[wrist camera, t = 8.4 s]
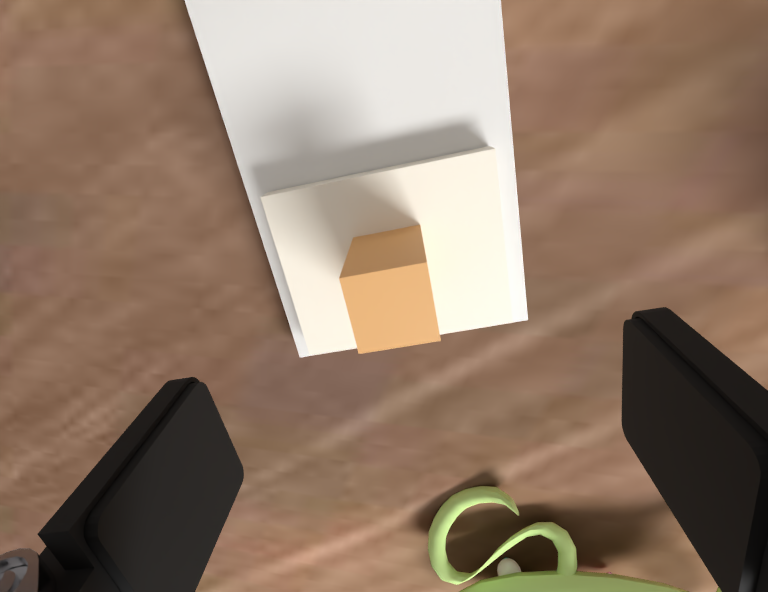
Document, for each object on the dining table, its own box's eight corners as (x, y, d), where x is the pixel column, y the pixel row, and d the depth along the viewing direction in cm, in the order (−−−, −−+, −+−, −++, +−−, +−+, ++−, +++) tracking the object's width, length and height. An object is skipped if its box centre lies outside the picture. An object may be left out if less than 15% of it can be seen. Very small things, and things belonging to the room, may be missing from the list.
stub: (489, 145, 19) (528, 163, 13) (507, 311, 22) (545, 383, 16) (267, 192, 20) (215, 226, 14) (314, 343, 23) (286, 422, 17)
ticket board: (437, -622, 12) (446, -792, 10) (521, 309, 23) (535, 332, 21) (48, -468, 13) (-24, -586, 11) (304, 346, 25) (294, 370, 22)
